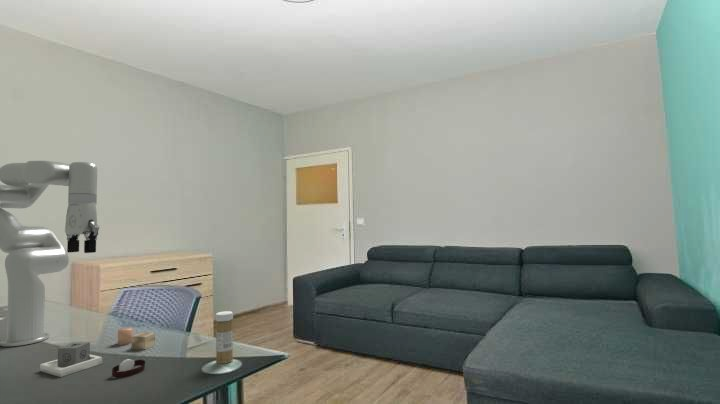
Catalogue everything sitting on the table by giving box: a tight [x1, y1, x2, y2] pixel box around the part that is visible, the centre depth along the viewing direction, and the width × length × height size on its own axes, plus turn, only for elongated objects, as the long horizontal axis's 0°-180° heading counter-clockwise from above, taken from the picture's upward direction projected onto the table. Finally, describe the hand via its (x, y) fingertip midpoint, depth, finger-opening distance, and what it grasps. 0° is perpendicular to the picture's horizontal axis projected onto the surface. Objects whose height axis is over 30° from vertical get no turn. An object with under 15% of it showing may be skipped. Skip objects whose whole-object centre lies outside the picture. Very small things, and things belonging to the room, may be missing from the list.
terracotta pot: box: [117, 326, 134, 346], centre depth 124 cm, size 4×4×4 cm
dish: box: [39, 353, 103, 378], centre depth 102 cm, size 10×10×2 cm
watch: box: [111, 358, 146, 379], centre depth 98 cm, size 8×5×4 cm, turn 141°
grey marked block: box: [57, 341, 91, 367], centre depth 103 cm, size 5×5×5 cm
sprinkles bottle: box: [215, 310, 234, 365], centre depth 105 cm, size 5×5×14 cm
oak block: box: [130, 332, 156, 350], centre depth 119 cm, size 5×4×4 cm
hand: (81, 252), depth 122 cm, fingers open, 9 cm apart
